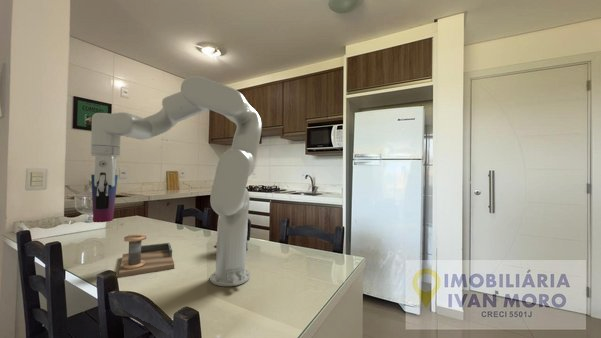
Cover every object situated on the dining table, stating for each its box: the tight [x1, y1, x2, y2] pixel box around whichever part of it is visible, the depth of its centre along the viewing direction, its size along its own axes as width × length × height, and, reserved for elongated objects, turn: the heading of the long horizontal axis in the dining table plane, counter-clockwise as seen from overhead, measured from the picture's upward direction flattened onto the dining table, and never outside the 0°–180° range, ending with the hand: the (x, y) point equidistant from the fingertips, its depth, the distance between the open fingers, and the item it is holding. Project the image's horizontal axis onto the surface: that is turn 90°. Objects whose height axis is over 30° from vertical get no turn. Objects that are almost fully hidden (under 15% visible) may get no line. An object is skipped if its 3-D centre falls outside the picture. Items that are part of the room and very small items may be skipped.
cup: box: [90, 173, 119, 223], centre depth 81 cm, size 7×7×15 cm
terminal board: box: [118, 233, 175, 278], centre depth 93 cm, size 20×16×12 cm
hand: (103, 206), depth 81 cm, fingers closed on cup, 6 cm apart
